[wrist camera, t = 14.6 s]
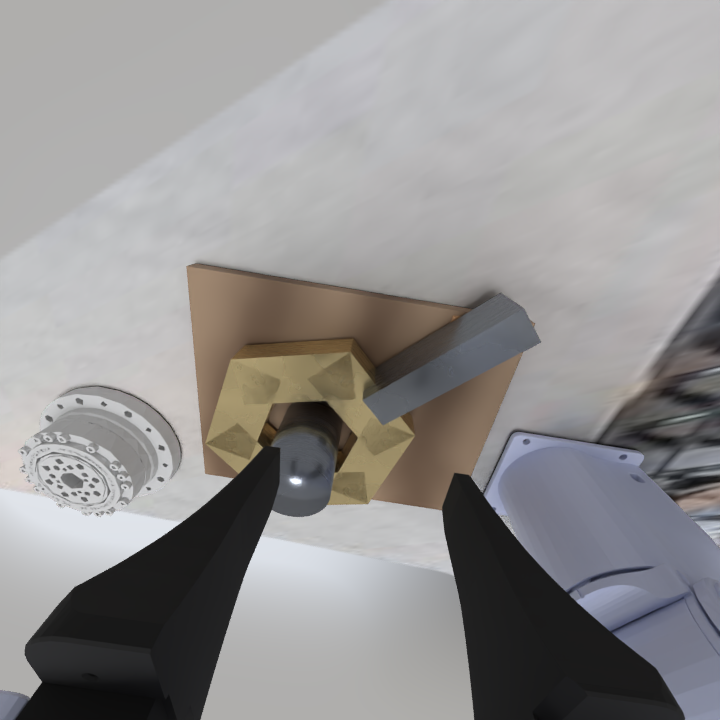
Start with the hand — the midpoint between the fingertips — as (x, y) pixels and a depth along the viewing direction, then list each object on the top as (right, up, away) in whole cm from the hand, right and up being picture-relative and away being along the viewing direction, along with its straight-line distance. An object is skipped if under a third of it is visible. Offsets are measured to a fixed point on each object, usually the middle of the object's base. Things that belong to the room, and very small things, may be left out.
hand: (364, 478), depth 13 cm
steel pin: (-3, +1, +9) cm, 9 cm away
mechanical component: (-19, -1, +12) cm, 23 cm away
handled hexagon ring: (0, +3, +7) cm, 8 cm away
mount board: (-1, +2, +9) cm, 9 cm away
